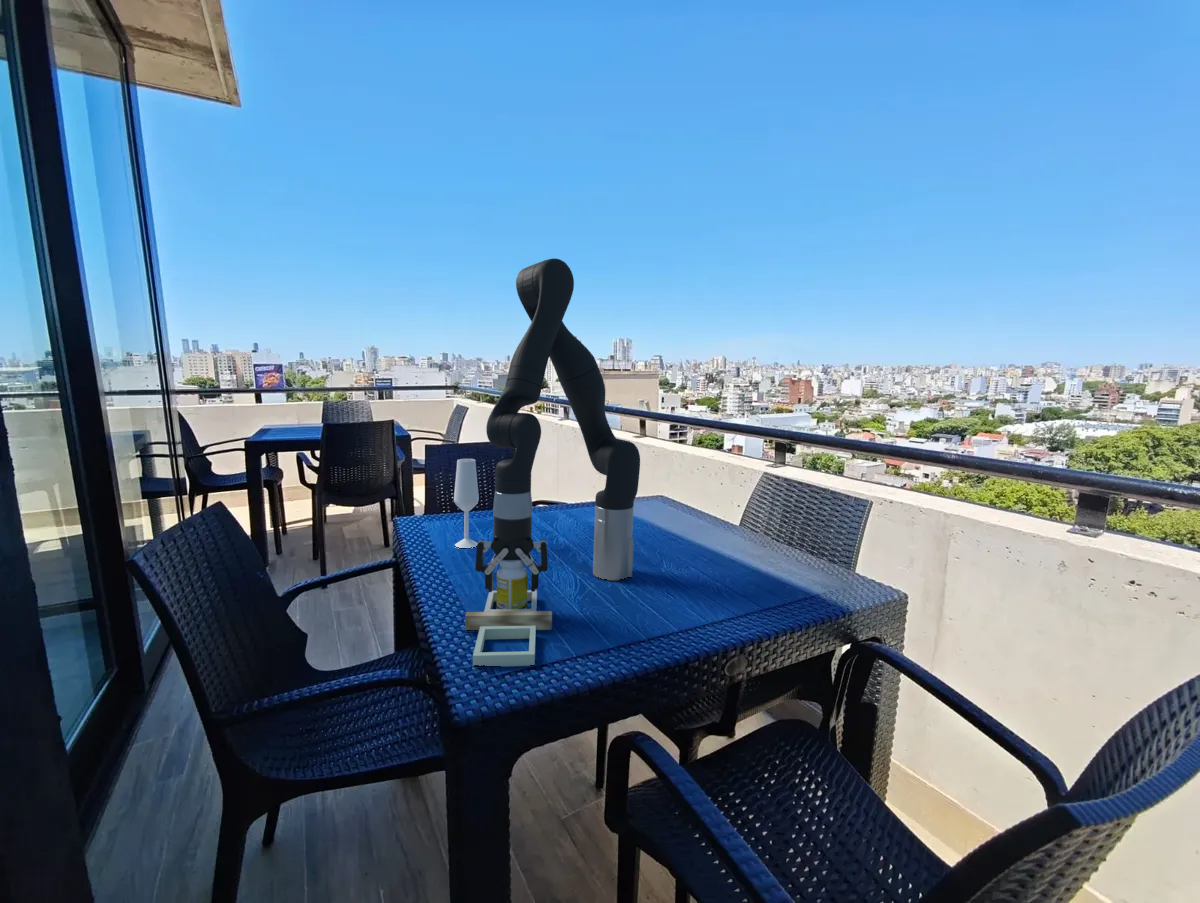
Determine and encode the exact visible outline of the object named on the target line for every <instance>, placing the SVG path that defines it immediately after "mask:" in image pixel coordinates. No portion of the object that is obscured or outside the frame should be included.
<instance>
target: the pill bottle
mask: <svg viewBox="0 0 1200 903" xmlns="http://www.w3.org/2000/svg"><path fill="white" fill-rule="evenodd" d="M499 564H500V567H499V568H498V569H497V570H496V590H497V601H496V609H528V601H527V590H528V570H527V568H526V567H525V566H524V565H525V563H524V562H523V561H522V560H501V561H500V563H499Z"/></svg>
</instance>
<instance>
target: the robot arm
mask: <svg viewBox="0 0 1200 903" xmlns="http://www.w3.org/2000/svg"><path fill="white" fill-rule="evenodd" d="M574 281H575V279H574V275H573V272H572V269H571V268H570V267H569V265H568V264H567V263H566V261H564V260H562V259H560V258H555V257H554V258H548V259H545V260H542V261H540V262H537V263H534V264H531V265H528V266H527V267H524V268H522V269H521V270H519V272H518V273H517V277H516V280H515V287H516V292H517V295H518V299H519V301H520V303H521V305H522V307H523V309H524V311H525V313H526V314H527V316H528V319H529V320H530V322H531V323H530V324H529V326H528V328H527V330H526V332H525V334H524V335H523V337H522V339H521V340H520V342H518V345H517V347H516V349H515V351H514V353H513V355H512V358H511V359H510V360H511V361H510V363H509V368H508V373H507V377H506V381H505V386H504V388H503V390H502V392H501V394H500V395H499V398H498V400H497V401H496V403H495V405H494V406H493V408H492V410H491V412H490V413H489V417H488V419H487V422H486V427H485V428H486V429H485V431H486V436H487V439H488V441H489V443H490V444H491V445H493V446H494V447H497V448H505V449H515V452H514V455H513V457H512V458H508V459H503V460H500V461H498V462H497V463H496V464H495V470H494V476H495V477H494V480H495V481H494V498H493V508H492V512H493V528H492V529H493V533H492V534H493V539H492V541H488V540H484V539H483V538H480V539H479V540H477V541H478V542H477V543H478V544H477V547H476V553H475V554H476V556H475V568H474V569H475V571H476V573H477V572H478V573H480V572H481V573H483V574H484V588H485V590H488V591H487V592H488V593H489V592H492V591H494V569H495V568H497V567H498V565H499V564H500V561H501V560H522V561H523V562H524V565H526V567H527V568H529V570H530V571H531V589H530V590H531V592H535V590H537V589H538V588H539V575H540V573H541V572H547V571H548V568H549V566H548V546H547V545H548V542H547V539H545V538H543V539H541V540H537V541H534V540H533V538H532V537H533V536H532V533H533V532H532V529H533V528H532V527H533V526H532V524H533V523H532V522H533V517H532V516H533V500H532V470H533V466H534V461H535V458H536V455H537V451H538V447H539V445H540V442H541V441H540V440H541V438H542V426H541V423H540V421H539V419H538V418H537V416H535V415H534V414H532V413H528V412H527V413H526V412H520V410H521V409H522V408H524V407H526V406H530V405H534V404H536V403H537V402H538V401H539V400H540V397H541V393H542V388H543V384H544V379H545V374H546V369H547V365H548V361H549V359H550V362H551V365H552V366H553V367H554V371H555V373H556V376H557V379H558V380H559V381H558V382H559V383H560V386H561V388H562V390H563V392H564V395H565V397H566V400H567V401H568V403H569V405H570V407H571V410H572V412H573V415H574V417H575V420H576V422H577V423H578V426H579V429H580V431H581V434H582V437H583V440H584V441H583V442H584V443H585V447H586V450H587V453H588V456H589V459H590V462H591V464H592V467H593V468H594V469H595V470H596V471H597V473H599V474H600V475H603V476H606V478H605V485H604V486H605V487H604V489H602V490H599V491H598V492H596V494H595V498H594V499H595V500H594V504H595V505H594V527H593V528H594V529H593V530H594V532H593V556H592V560H593V561H592V575H593V576H594V577H596V578H598V577H599V578H598V579H600V578H601V579H600V580H604V579H607V580H606V581H621V580H620V579H623V580H625V579H624V578H626V579H628V578H627V577H632V578H633V564H634V547H635V546H634V543H635V541H634V540H635V539H634V538H633V527H634V523H633V522H634V506H635V503H634V502H635V500H636V499H635V498H636V497H637V495H638V490H639V482H640V481H639V480H640V479H639V478H640V470H641V455H640V452H639V449H638V447H637V446H636V444H634V443H633V442H631V441H630V440H625V439H622V438H621V439H620V438H617V437H616V436H615V434H614V432H613V430H612V428H611V427H610V424H609V422H608V418H607V414H606V386H605V381H604V379H603V375H602V373H601V371H600V367H599V365H598V362H597V360H596V358H595V357H594V355H593V353H592V352H591V351H590V350H589V349H588V348H587V347H586V345H584V344H583V343H582V342H581V341H580V340H579V339H578V338H577V337H576V336H575V335H574V334H573V333H572V332H571V331H570V330H569V329H568V328H567V326H566V325H565V323H564V322H563V320H564V317H565V315H566V312H567V310H568V308H569V307H568V306H569V305H570V303H571V300H572V298H573V293H574V287H575V282H574ZM534 548H535V549H536V551H537V552H538V553H540V561H541V563H537V562H536V561H535V560H534V558H533V556H532V555H531V554H530V553H531V552H532V550H533V549H534ZM488 549H491V550H492V552H494V556H493V557H492V559H491V560H490V561H489V562H488V563H487V564H486V563H484V556H485V555H484V554H485V553H487V551H488Z"/></svg>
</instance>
